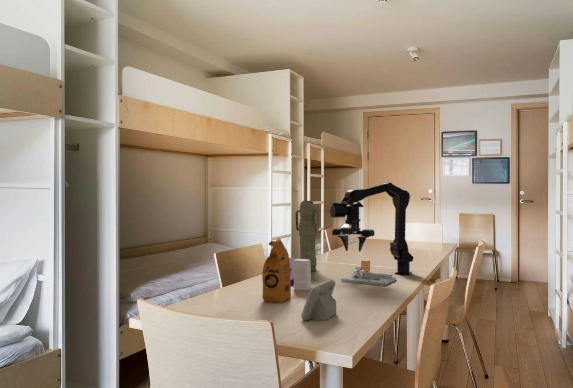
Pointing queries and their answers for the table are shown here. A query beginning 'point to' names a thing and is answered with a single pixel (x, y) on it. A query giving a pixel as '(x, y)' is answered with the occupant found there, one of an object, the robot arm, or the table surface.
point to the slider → (364, 267)
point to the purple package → (292, 269)
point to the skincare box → (302, 274)
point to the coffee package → (276, 274)
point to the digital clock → (320, 302)
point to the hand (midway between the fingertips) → (353, 251)
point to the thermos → (307, 231)
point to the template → (369, 278)
